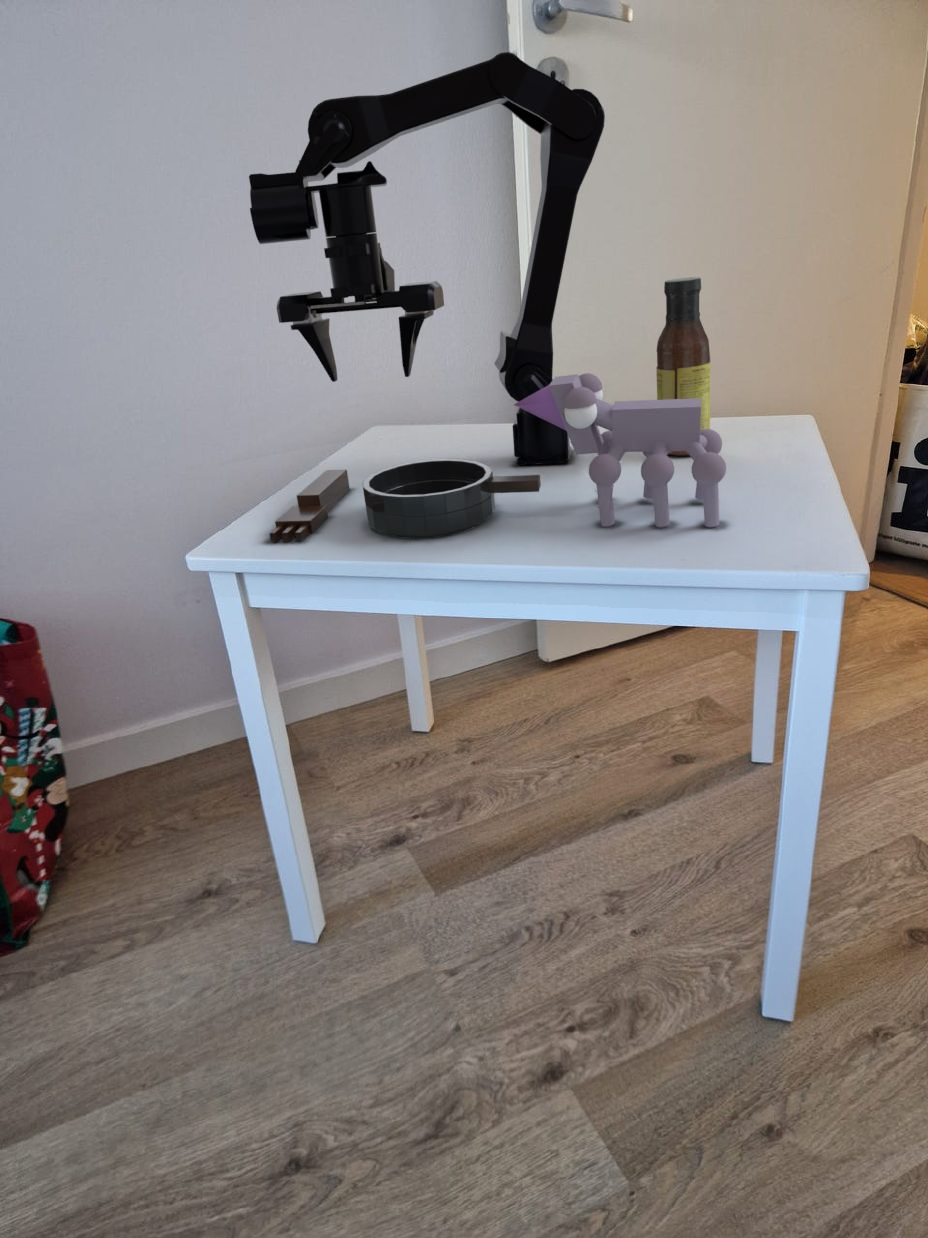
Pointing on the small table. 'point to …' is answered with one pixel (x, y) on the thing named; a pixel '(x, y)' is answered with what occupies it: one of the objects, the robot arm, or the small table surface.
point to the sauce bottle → (684, 349)
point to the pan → (429, 498)
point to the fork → (311, 506)
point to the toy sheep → (633, 441)
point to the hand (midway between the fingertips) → (370, 378)
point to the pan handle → (515, 484)
